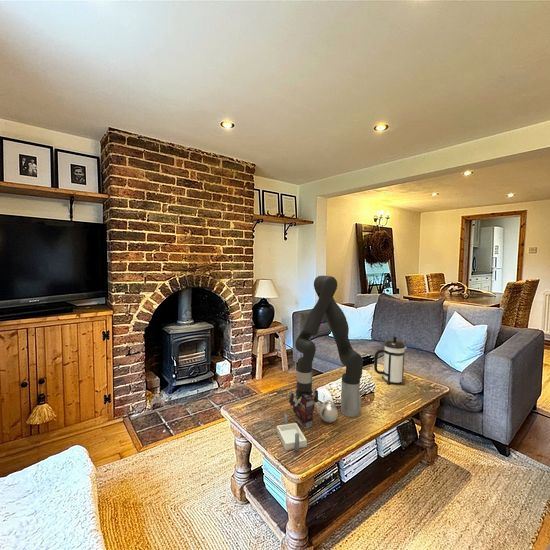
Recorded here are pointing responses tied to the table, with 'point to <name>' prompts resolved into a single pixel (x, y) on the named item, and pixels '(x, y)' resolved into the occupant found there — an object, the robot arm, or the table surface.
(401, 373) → the coffee press
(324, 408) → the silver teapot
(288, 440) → the holder caddy
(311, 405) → the supplement box
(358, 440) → the table surface
